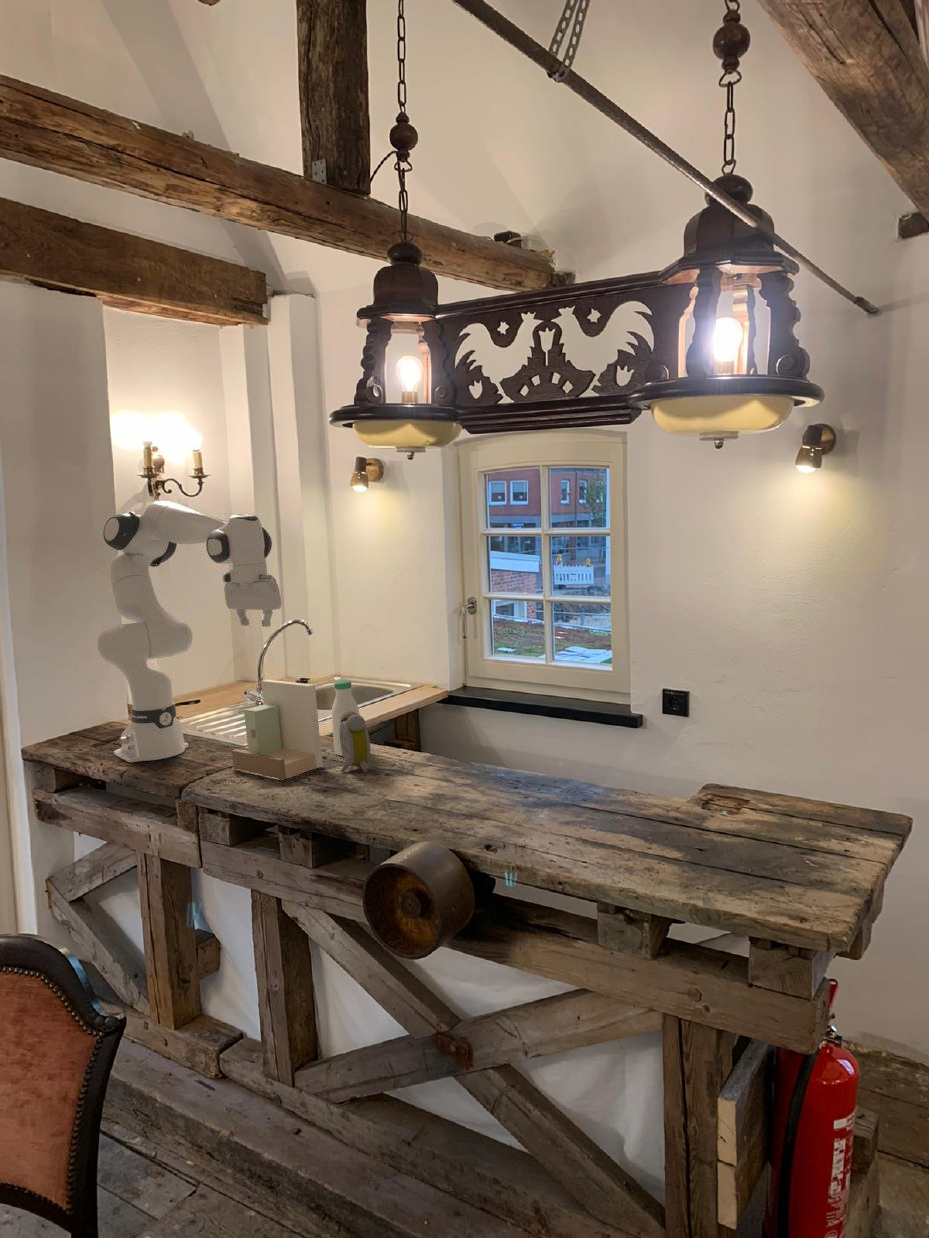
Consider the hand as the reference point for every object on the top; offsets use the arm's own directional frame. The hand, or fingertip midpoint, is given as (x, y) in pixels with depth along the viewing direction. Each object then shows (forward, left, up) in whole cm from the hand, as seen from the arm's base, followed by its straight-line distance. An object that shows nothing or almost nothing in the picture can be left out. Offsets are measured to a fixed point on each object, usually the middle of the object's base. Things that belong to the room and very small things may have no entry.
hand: (255, 626), depth 234 cm
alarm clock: (+30, +4, -37) cm, 48 cm away
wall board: (+10, -5, -37) cm, 39 cm away
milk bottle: (+16, +15, -37) cm, 43 cm away
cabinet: (+5, -5, -33) cm, 34 cm away
